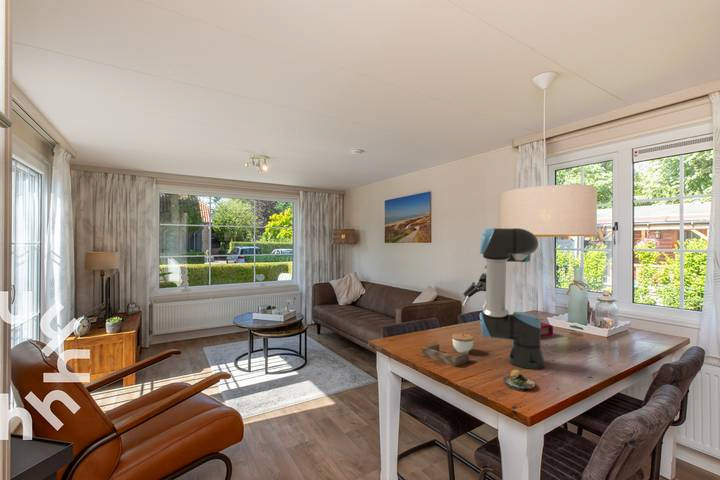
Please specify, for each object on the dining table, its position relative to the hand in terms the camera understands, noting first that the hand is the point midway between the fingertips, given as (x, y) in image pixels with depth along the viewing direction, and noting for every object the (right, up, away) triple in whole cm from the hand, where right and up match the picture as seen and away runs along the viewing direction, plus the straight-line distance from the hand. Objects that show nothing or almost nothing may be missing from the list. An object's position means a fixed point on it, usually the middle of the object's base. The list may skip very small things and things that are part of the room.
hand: (473, 308), depth 180 cm
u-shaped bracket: (-21, -21, -19) cm, 35 cm away
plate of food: (+2, -22, -48) cm, 52 cm away
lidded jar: (-8, -21, -7) cm, 24 cm away
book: (+42, -22, +31) cm, 56 cm away
